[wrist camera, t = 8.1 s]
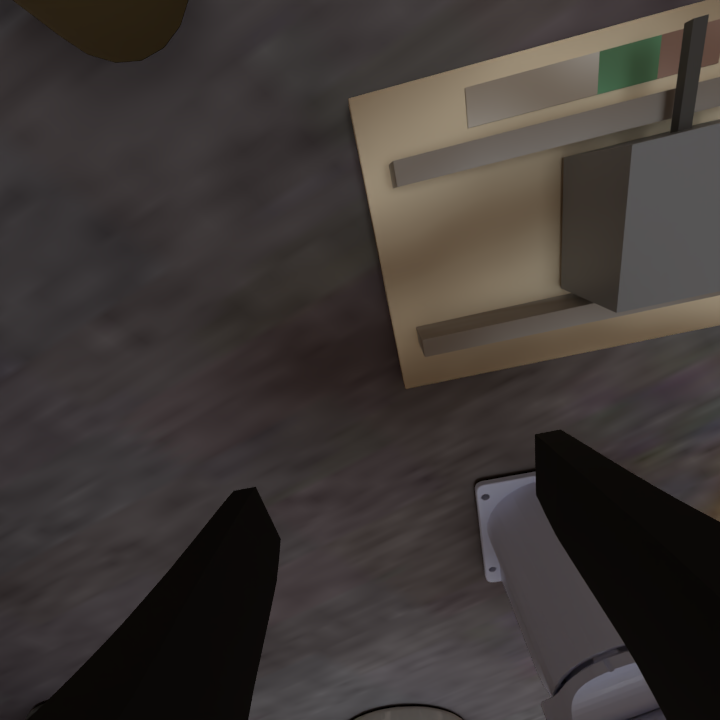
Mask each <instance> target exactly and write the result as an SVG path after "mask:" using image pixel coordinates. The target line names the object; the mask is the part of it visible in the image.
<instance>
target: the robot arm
mask: <svg viewBox="0 0 720 720" xmlns="http://www.w3.org/2000/svg"><path fill="white" fill-rule="evenodd" d="M535 468H536V471H535V472H530V473H524V474H518V475H513V476H507V477H502V478H496V479H491V480H485V481H481V482H479V483H477V484H476V486H475V495H476V504H477V513H478V521H479V530H480V539H481V547H482V556H483V565H484V573H485V577H486V580H487V581H489V582H498V581H502V583H503V585H504V588H505V590H506V593H507V596H508V598H509V601H510V603H511V606H512V609H513V611H514V614H515V616H516V619H517V622H518V624H519V627H520V629H521V632H522V635H523V637H524V640H525V642H526V645H527V648H528V650H529V653H530V655H531V658H532V661H533V663H534V666H535V668H536V671H537V673H538V675H539V677H540V680H541V682H542V683H543V685H544V687H545V688H546V690H547V691H548V693H549V694H550V696H551V698H549V699H547V700H545V701H543V702H542V703H541V707H542V709H543V712H544V715H545V717H546V720H720V522H719V521H717V520H715V519H713V518H711V517H709V516H708V515H706V514H704V513H702V512H700V511H698V510H696V509H694V508H693V507H691V506H689V505H687V504H685V503H683V502H682V501H680V500H678V499H676V498H674V497H673V496H671V495H669V494H667V493H665V492H664V491H662V490H660V489H658V488H657V487H655V486H653V485H651V484H650V483H648V482H646V481H645V480H643V479H641V478H639V477H638V476H636V475H634V474H633V473H631V472H629V471H628V470H626V469H624V468H623V467H621V466H619V465H618V464H616V463H614V462H613V461H611V460H609V459H608V458H606V457H605V456H603V455H601V454H600V453H598V452H596V451H595V450H593V449H592V448H590V447H588V446H587V445H585V444H583V443H582V442H580V441H579V440H577V439H575V438H574V437H572V436H570V435H569V434H567V433H565V432H564V431H562V430H556V431H551V432H545V433H540V434H535ZM484 494H486V495H484ZM280 540H281V539H280V537H279V535H278V533H277V531H276V528H275V526H274V524H273V522H272V520H271V518H270V516H269V514H268V512H267V510H266V508H265V505H264V503H263V501H262V499H261V497H260V495H259V493H258V491H257V489H256V487H252V488H247V489H242V490H236V491H233V492H232V494H231V495H230V496H229V497H228V498H227V499H226V501H225V502H224V503H223V504H222V506H221V507H220V508H219V509H218V510H217V512H216V513H215V514H214V515H213V517H212V518H211V519H210V520H209V522H208V523H207V524H206V525H205V527H204V528H203V529H202V530H201V532H200V533H199V534H198V535H197V537H196V538H195V539H194V540H193V542H192V543H191V544H190V545H189V547H188V548H187V549H186V550H185V551H184V553H183V554H182V555H181V556H180V558H179V559H178V560H177V561H176V562H175V564H174V565H173V566H172V567H171V569H170V570H169V571H168V572H167V573H166V574H165V576H164V577H163V578H162V579H161V580H160V581H159V583H158V584H157V585H156V586H155V587H154V588H153V589H152V591H151V592H150V593H149V594H148V595H147V596H146V597H145V599H144V600H143V601H142V602H141V603H140V604H139V606H138V607H137V608H136V609H135V610H134V611H133V612H132V614H131V615H130V616H129V617H128V618H127V619H126V620H125V621H124V623H123V624H122V625H121V626H120V627H119V628H118V629H117V630H116V631H115V632H114V633H113V635H112V636H111V637H110V638H109V639H108V640H107V641H106V642H105V643H104V644H103V645H102V646H101V647H100V648H99V649H98V650H97V651H96V652H95V653H94V654H93V656H92V657H91V658H90V659H89V660H88V661H87V662H86V663H85V664H84V665H83V666H82V667H81V668H80V669H79V670H78V671H77V672H76V673H75V674H74V675H73V676H72V677H71V678H70V679H69V680H68V681H67V682H66V683H65V684H64V685H63V686H62V687H61V688H60V689H59V690H58V691H57V692H56V693H55V694H54V695H53V696H52V697H51V698H50V699H48V700H47V701H46V702H45V703H44V704H43V705H42V706H41V707H40V708H39V709H38V710H37V711H36V712H35V713H34V714H33V715H32V716H31V717H30V718H28V719H27V720H248V717H249V712H250V706H251V701H252V695H253V690H254V685H255V681H256V676H257V671H258V667H259V662H260V657H261V653H262V648H263V643H264V639H265V634H266V630H267V625H268V620H269V616H270V611H271V606H272V601H273V596H274V592H275V587H276V581H277V573H278V564H279V552H280Z"/></svg>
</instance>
